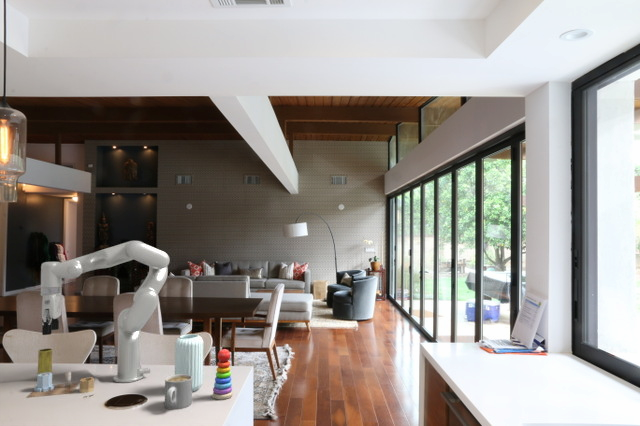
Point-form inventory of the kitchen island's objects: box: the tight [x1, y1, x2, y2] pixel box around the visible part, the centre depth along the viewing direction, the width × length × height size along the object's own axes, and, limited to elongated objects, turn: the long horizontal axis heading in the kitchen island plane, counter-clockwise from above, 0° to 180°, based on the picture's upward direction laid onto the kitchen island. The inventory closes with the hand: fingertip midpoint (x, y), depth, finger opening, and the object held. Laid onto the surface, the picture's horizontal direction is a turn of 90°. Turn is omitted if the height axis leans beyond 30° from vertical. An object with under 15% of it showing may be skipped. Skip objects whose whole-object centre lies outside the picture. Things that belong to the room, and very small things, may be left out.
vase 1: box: [37, 348, 53, 375], centre depth 198 cm, size 6×6×14 cm
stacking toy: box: [211, 348, 234, 400], centre depth 180 cm, size 8×8×19 cm
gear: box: [33, 372, 56, 392], centre depth 184 cm, size 7×7×6 cm
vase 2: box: [174, 333, 204, 393], centre depth 189 cm, size 12×12×22 cm
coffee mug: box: [164, 374, 193, 411], centre depth 170 cm, size 13×10×10 cm
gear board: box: [26, 371, 80, 399], centre depth 184 cm, size 16×14×8 cm
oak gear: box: [78, 376, 95, 398], centre depth 183 cm, size 7×7×6 cm
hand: (50, 332), depth 187 cm, fingers open, 9 cm apart
